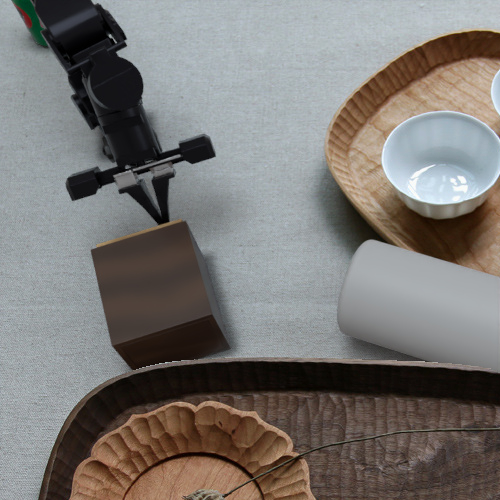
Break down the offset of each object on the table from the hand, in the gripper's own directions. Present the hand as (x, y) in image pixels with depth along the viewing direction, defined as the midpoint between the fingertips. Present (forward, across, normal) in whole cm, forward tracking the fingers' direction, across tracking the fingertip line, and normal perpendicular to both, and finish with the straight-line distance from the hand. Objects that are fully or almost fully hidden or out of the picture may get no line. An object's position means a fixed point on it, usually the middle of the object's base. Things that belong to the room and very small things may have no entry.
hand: (167, 231), depth 107 cm
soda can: (-28, +10, -40) cm, 50 cm away
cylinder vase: (+12, -20, +12) cm, 26 cm away
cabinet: (+11, +3, +2) cm, 11 cm away
